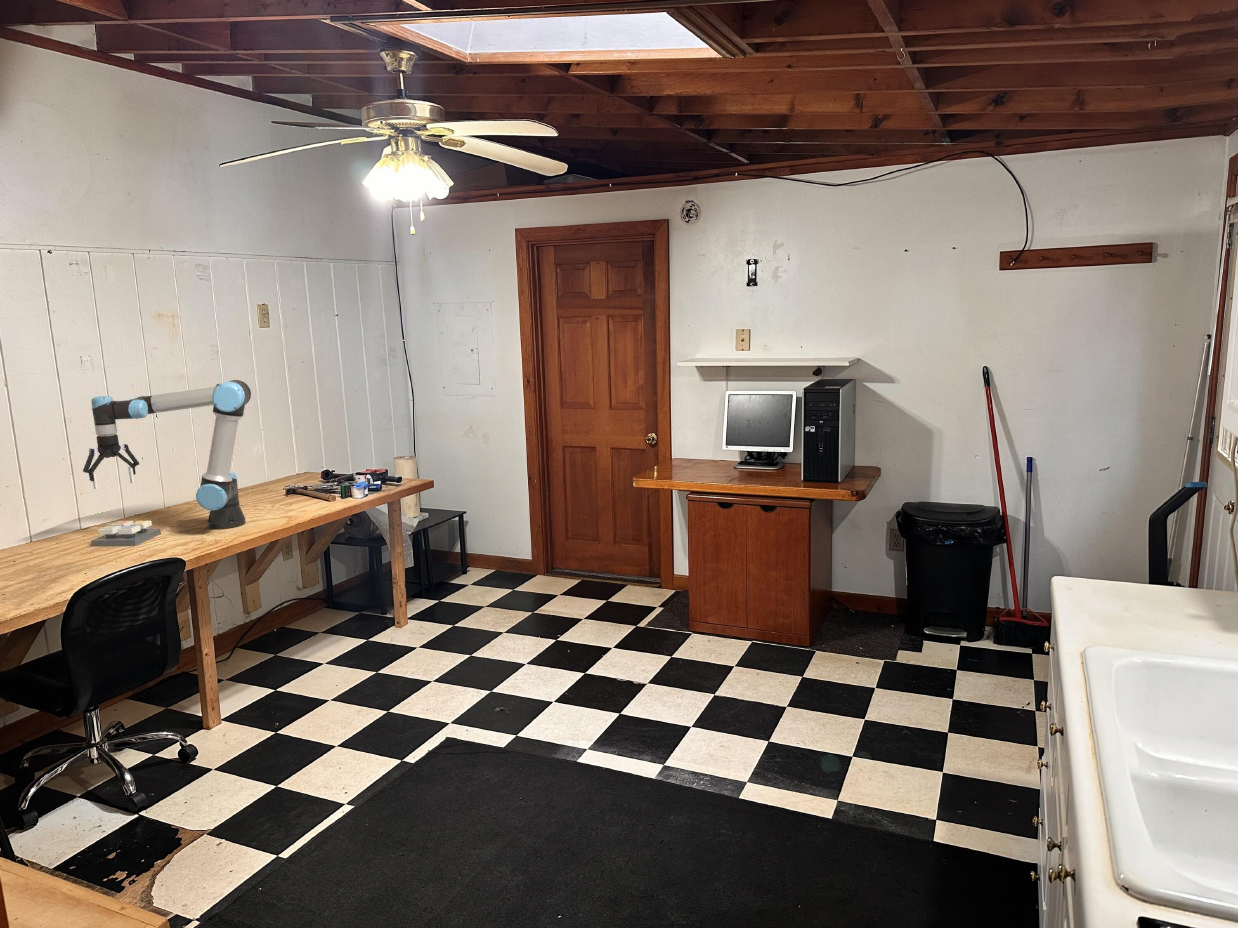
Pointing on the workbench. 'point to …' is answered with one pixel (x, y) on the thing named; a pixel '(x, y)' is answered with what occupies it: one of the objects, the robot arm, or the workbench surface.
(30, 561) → the workbench surface
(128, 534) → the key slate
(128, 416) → the robot arm
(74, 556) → the workbench surface
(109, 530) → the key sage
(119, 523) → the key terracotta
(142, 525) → the cream key cap
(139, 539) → the keypad board
